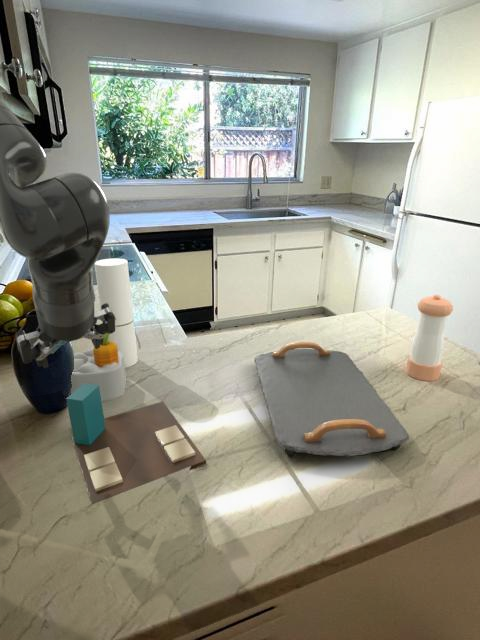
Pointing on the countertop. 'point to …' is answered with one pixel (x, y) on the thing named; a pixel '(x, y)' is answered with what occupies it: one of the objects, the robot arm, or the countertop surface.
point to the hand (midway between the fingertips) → (70, 353)
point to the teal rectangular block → (86, 414)
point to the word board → (135, 451)
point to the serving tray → (324, 403)
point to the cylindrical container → (118, 304)
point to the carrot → (106, 352)
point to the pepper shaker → (429, 339)
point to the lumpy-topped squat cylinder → (99, 375)
